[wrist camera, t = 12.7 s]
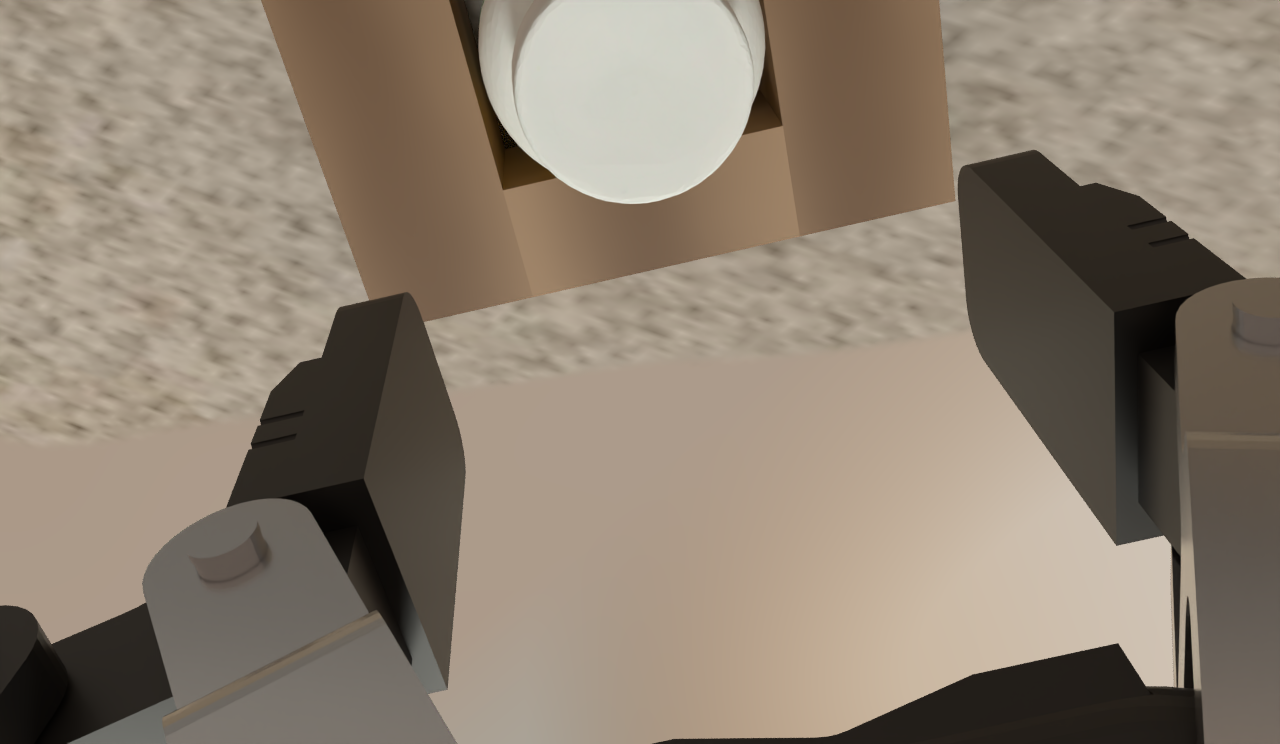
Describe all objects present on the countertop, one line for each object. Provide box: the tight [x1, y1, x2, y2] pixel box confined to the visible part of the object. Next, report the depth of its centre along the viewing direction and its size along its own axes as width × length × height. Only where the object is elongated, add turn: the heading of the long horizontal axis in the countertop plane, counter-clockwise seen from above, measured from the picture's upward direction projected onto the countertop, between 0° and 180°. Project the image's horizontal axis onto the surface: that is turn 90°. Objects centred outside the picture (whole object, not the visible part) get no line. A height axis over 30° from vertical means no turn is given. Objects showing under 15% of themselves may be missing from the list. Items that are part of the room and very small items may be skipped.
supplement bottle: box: [478, 0, 765, 204], centre depth 23 cm, size 5×5×10 cm
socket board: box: [261, 0, 955, 322], centre depth 26 cm, size 14×12×3 cm
